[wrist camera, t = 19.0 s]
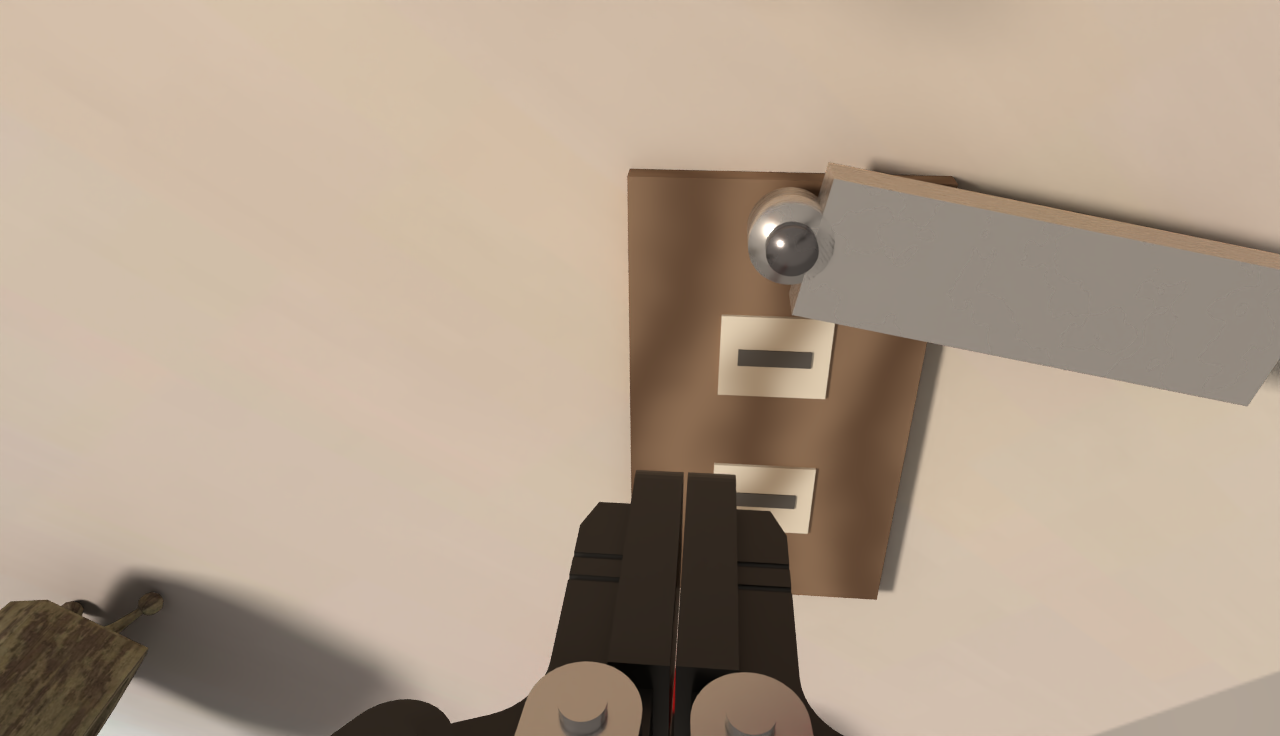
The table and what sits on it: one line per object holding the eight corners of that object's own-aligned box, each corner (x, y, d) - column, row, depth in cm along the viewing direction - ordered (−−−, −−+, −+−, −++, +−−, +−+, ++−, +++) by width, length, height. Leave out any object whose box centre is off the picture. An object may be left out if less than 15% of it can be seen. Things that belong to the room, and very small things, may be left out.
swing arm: (766, 149, 40) (769, 171, 37) (1302, 258, 40) (1344, 288, 37) (731, 281, 43) (731, 310, 41) (1223, 380, 44) (1256, 415, 41)
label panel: (952, 176, 42) (961, 189, 40) (873, 586, 56) (878, 607, 55) (629, 168, 43) (625, 181, 41) (634, 571, 57) (631, 592, 56)
